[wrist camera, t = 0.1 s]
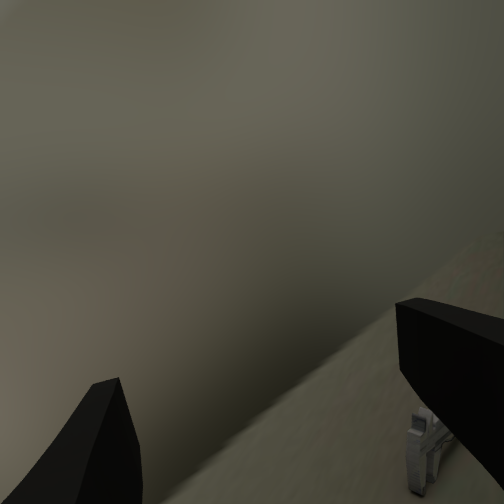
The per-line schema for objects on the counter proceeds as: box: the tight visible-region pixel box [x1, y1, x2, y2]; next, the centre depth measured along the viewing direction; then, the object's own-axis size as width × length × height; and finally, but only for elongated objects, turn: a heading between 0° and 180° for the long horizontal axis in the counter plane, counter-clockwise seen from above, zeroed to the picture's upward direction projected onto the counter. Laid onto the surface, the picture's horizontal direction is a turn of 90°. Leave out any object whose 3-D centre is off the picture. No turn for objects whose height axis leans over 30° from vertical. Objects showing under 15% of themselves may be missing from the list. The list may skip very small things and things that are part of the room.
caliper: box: [406, 407, 455, 496], centre depth 40 cm, size 20×1×6 cm, turn 135°
